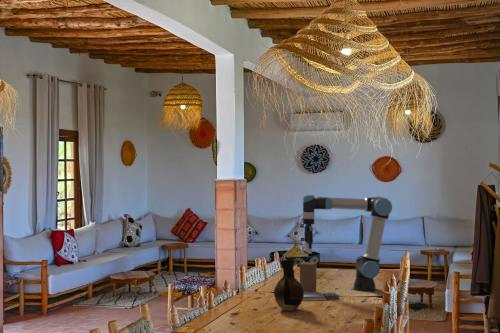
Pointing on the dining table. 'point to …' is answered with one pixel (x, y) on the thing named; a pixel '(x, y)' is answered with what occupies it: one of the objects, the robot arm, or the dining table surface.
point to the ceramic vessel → (288, 288)
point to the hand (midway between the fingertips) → (308, 252)
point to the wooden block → (308, 276)
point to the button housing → (331, 296)
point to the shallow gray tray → (313, 296)
